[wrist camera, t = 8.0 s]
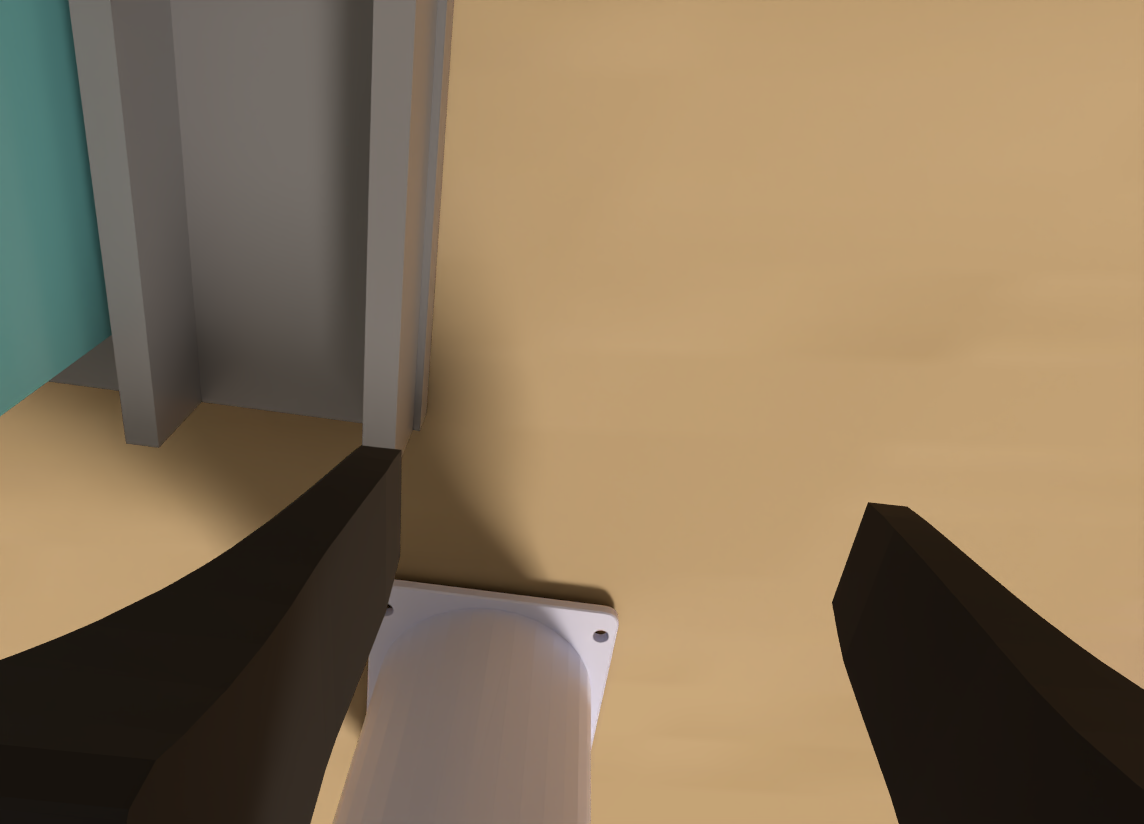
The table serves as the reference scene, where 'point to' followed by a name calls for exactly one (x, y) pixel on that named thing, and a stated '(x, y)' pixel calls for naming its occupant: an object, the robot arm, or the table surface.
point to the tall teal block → (44, 204)
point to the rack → (265, 206)
